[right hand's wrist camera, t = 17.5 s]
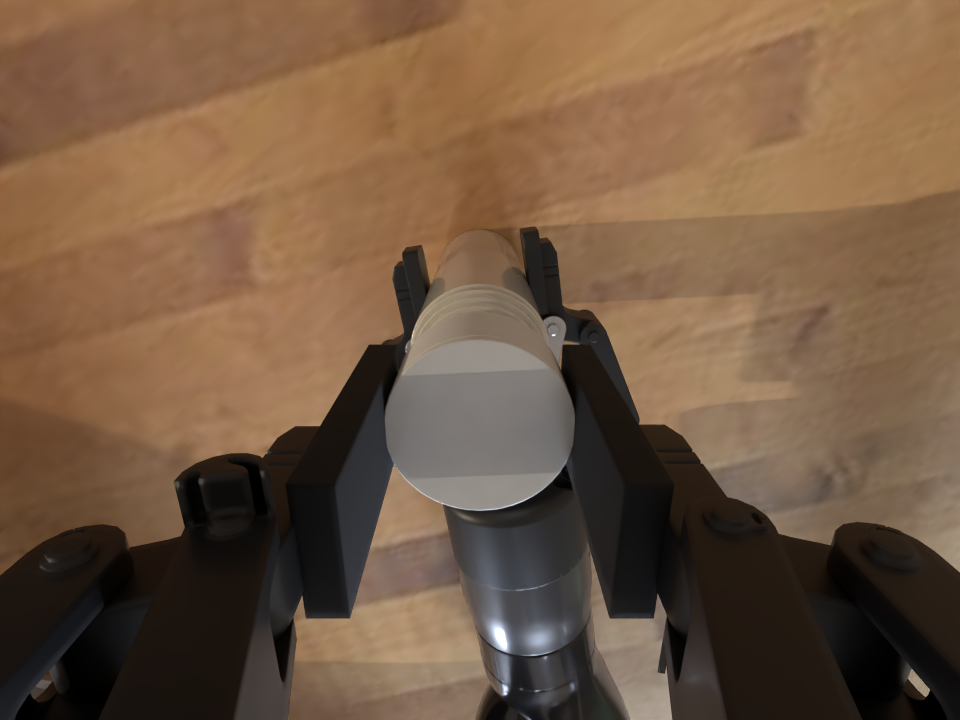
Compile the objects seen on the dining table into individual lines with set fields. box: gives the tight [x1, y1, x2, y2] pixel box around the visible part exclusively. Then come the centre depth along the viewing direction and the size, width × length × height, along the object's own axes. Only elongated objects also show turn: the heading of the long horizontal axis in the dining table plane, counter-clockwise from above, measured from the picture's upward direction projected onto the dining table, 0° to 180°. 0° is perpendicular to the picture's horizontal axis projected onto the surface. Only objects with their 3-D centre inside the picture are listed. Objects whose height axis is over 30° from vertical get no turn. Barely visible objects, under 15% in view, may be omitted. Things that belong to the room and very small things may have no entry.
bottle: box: [410, 230, 549, 347], centre depth 22 cm, size 5×5×19 cm
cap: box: [385, 312, 575, 510], centre depth 13 cm, size 5×5×2 cm
